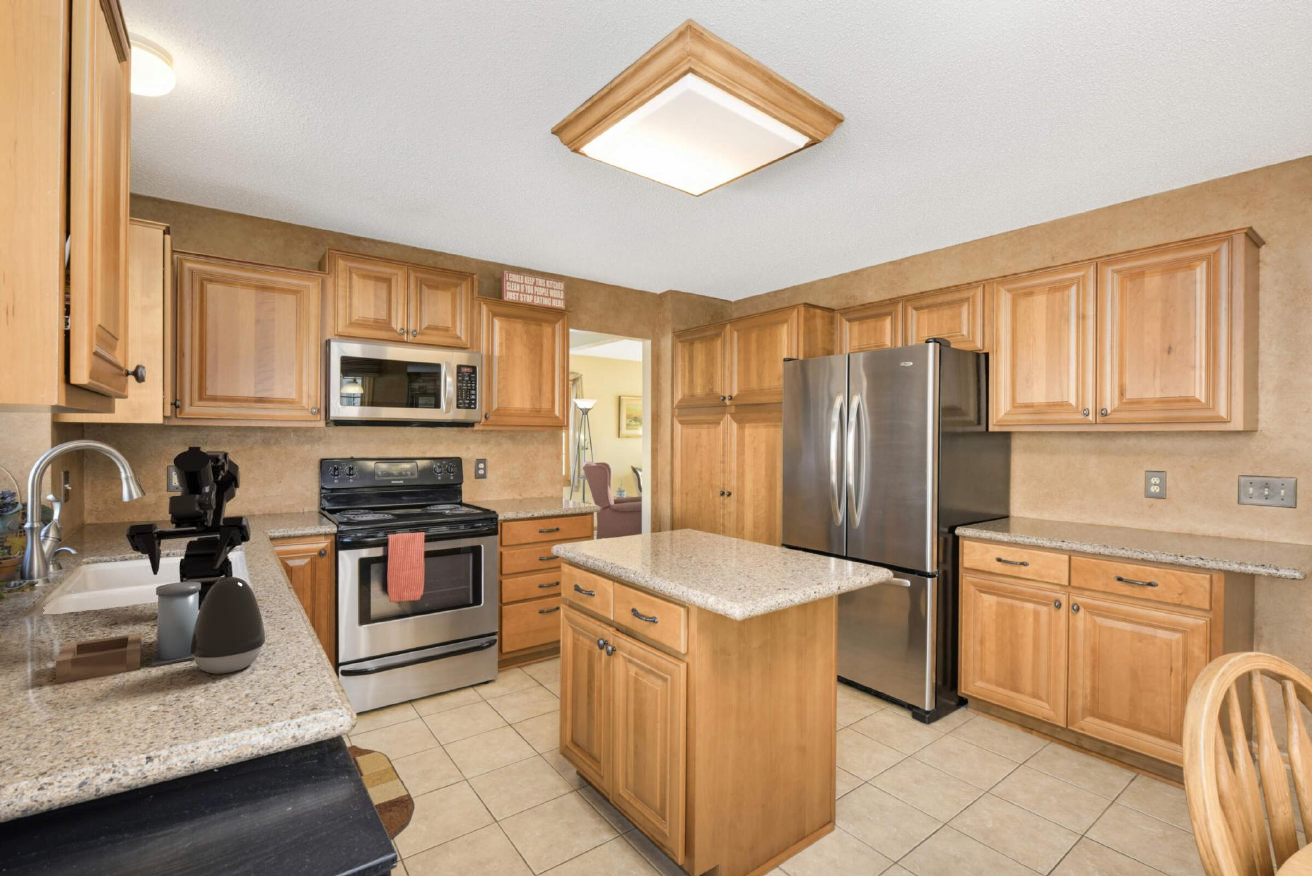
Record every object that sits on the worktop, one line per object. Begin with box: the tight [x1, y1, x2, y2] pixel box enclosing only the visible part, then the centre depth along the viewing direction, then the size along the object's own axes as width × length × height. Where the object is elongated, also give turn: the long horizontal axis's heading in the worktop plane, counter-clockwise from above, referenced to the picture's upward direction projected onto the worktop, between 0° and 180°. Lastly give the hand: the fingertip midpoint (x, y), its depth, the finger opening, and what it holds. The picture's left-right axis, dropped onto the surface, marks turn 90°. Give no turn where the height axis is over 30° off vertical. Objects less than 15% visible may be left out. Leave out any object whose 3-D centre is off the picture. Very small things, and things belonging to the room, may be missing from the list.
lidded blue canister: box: [155, 581, 201, 660], centre depth 108 cm, size 6×6×12 cm
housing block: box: [55, 632, 142, 685], centre depth 103 cm, size 10×10×4 cm
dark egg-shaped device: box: [191, 576, 266, 675], centre depth 103 cm, size 10×10×15 cm
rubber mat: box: [151, 651, 195, 668], centre depth 108 cm, size 7×7×1 cm
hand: (185, 570), depth 115 cm, fingers open, 9 cm apart
